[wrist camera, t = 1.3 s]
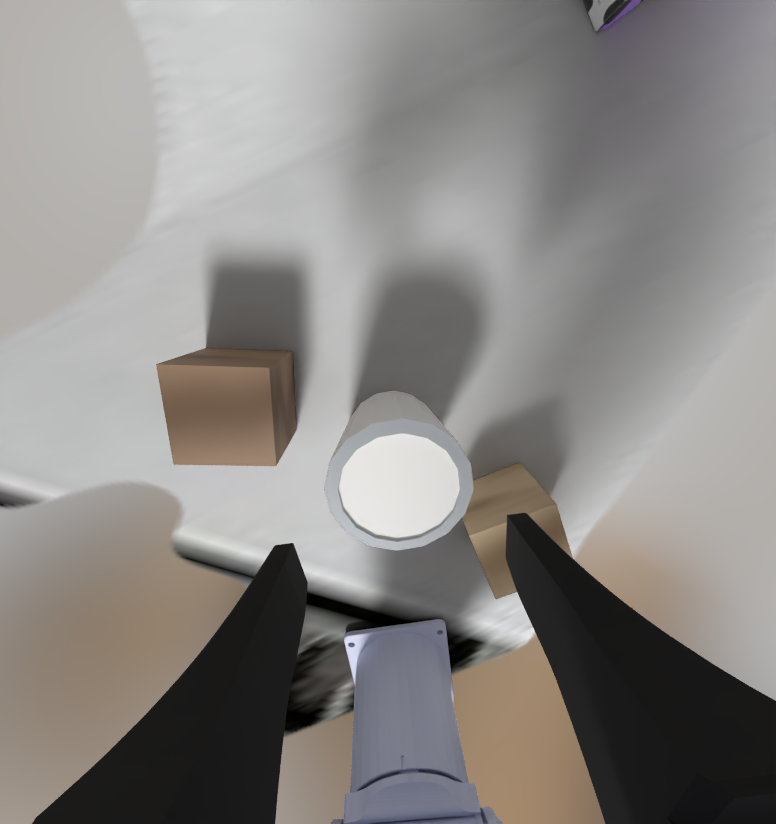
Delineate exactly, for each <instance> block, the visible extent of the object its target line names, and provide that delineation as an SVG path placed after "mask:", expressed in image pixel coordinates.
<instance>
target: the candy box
mask: <svg viewBox="0 0 776 824" xmlns="http://www.w3.org/2000/svg"><path fill="white" fill-rule="evenodd" d="M642 1H643V0H584V3H585V6H586V9H587V11H588V14H589V17H590V19H591V22H592V25H593V28H594V30H595V31H599V30H604V29H606V28H608V27H609V26H610V25H611V24H613V23H614V22H615V21H617V20H618V19H619V18H621V17H622V16H623V15H625V14H626V13H627V12H629V11H630V10H631V9H633V8H634V7H635V6H637V5H638V4H639V3H640V2H642Z"/></svg>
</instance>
